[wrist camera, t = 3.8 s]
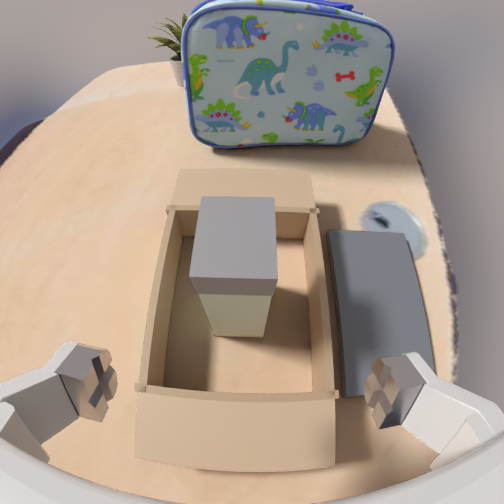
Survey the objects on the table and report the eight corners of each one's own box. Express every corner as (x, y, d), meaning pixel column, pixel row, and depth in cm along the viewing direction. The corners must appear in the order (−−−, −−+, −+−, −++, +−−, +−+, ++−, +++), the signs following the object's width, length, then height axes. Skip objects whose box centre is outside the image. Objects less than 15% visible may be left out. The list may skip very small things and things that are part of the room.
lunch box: (347, 115, 42) (371, 6, 25) (374, 152, 37) (414, 24, 19) (193, 118, 40) (181, -5, 22) (191, 159, 34) (171, 1, 17)
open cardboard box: (324, 457, 17) (339, 465, 13) (149, 450, 17) (130, 456, 13) (305, 198, 31) (312, 171, 27) (183, 195, 31) (177, 169, 27)
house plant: (199, 65, 55) (195, 5, 41) (240, 76, 50) (240, 7, 36) (148, 85, 49) (137, 19, 35) (184, 99, 44) (175, 18, 30)
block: (264, 338, 22) (277, 278, 13) (213, 337, 22) (188, 276, 13) (264, 282, 25) (274, 197, 16) (217, 281, 25) (201, 196, 16)
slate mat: (429, 382, 20) (435, 380, 19) (342, 398, 20) (346, 397, 19) (400, 238, 28) (403, 233, 27) (326, 235, 28) (328, 229, 27)
